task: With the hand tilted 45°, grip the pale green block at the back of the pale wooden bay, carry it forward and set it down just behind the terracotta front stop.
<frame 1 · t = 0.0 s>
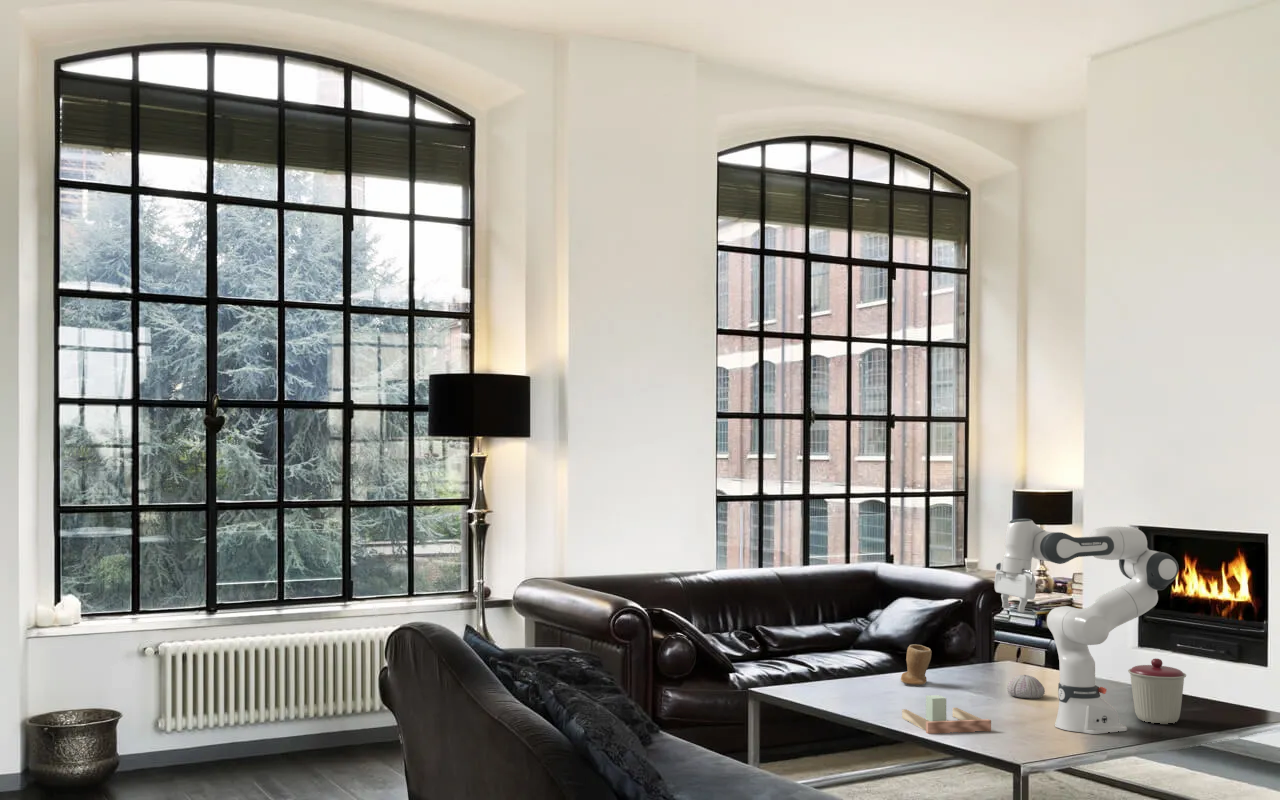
hand: (1013, 610, 384), 39 cm above the table, tool pointing down, fingers open, 8 cm apart
pale green block: (936, 720, 395), on the table
bay: (949, 727, 385), on the table
tan boot: (916, 684, 461), on the table
sea urchin shell: (1025, 697, 438), on the table
canister: (1157, 721, 398), on the table
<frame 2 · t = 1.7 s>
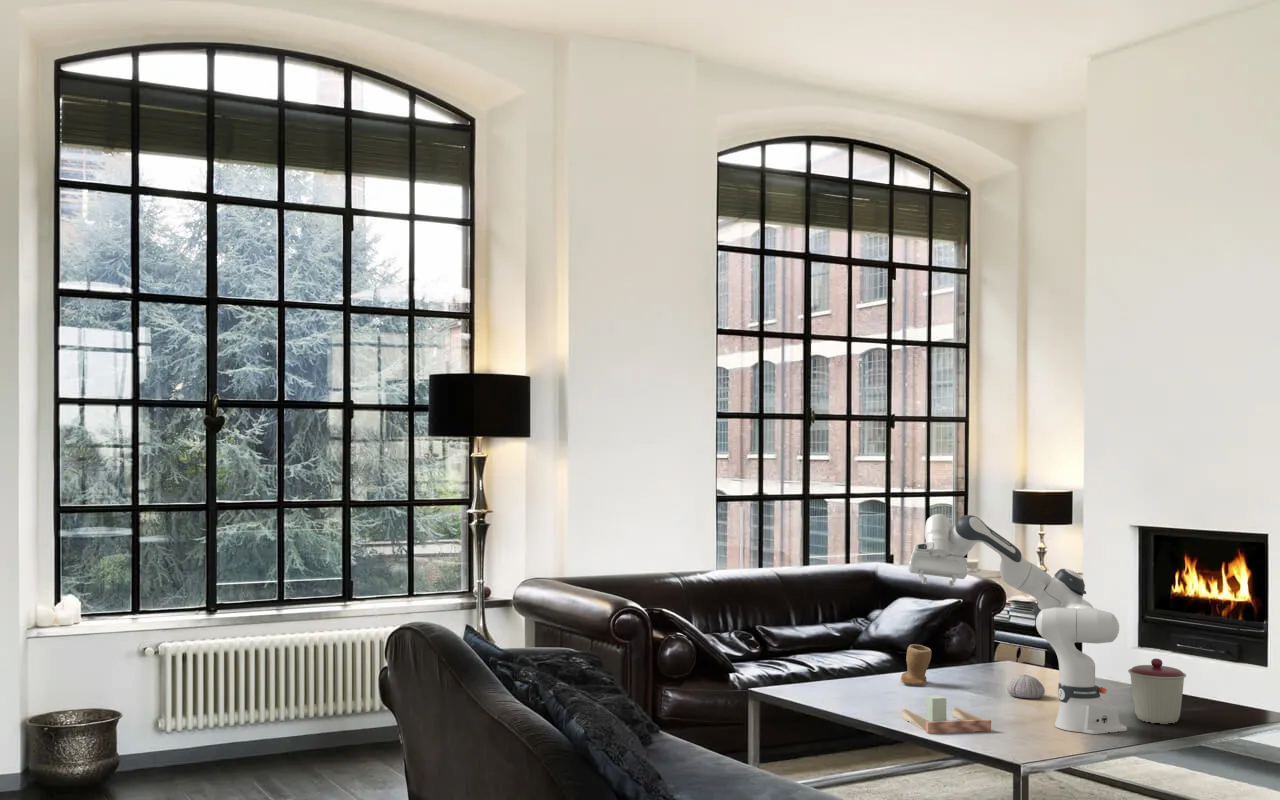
hand: (937, 584, 415), 44 cm above the table, tool tilted 40°, fingers open, 8 cm apart
nothing on the table moved.
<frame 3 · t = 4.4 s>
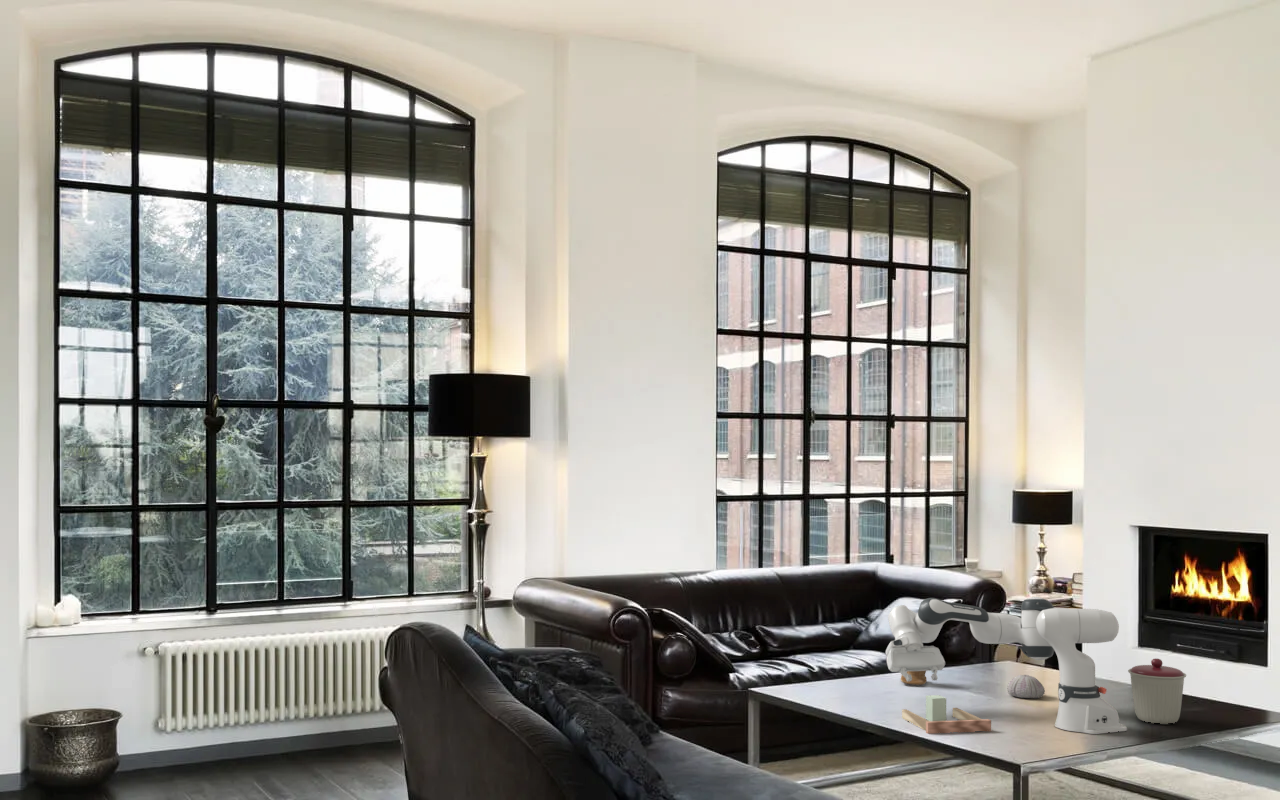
hand: (922, 680, 405), 12 cm above the table, tool tilted 45°, fingers open, 8 cm apart
nothing on the table moved.
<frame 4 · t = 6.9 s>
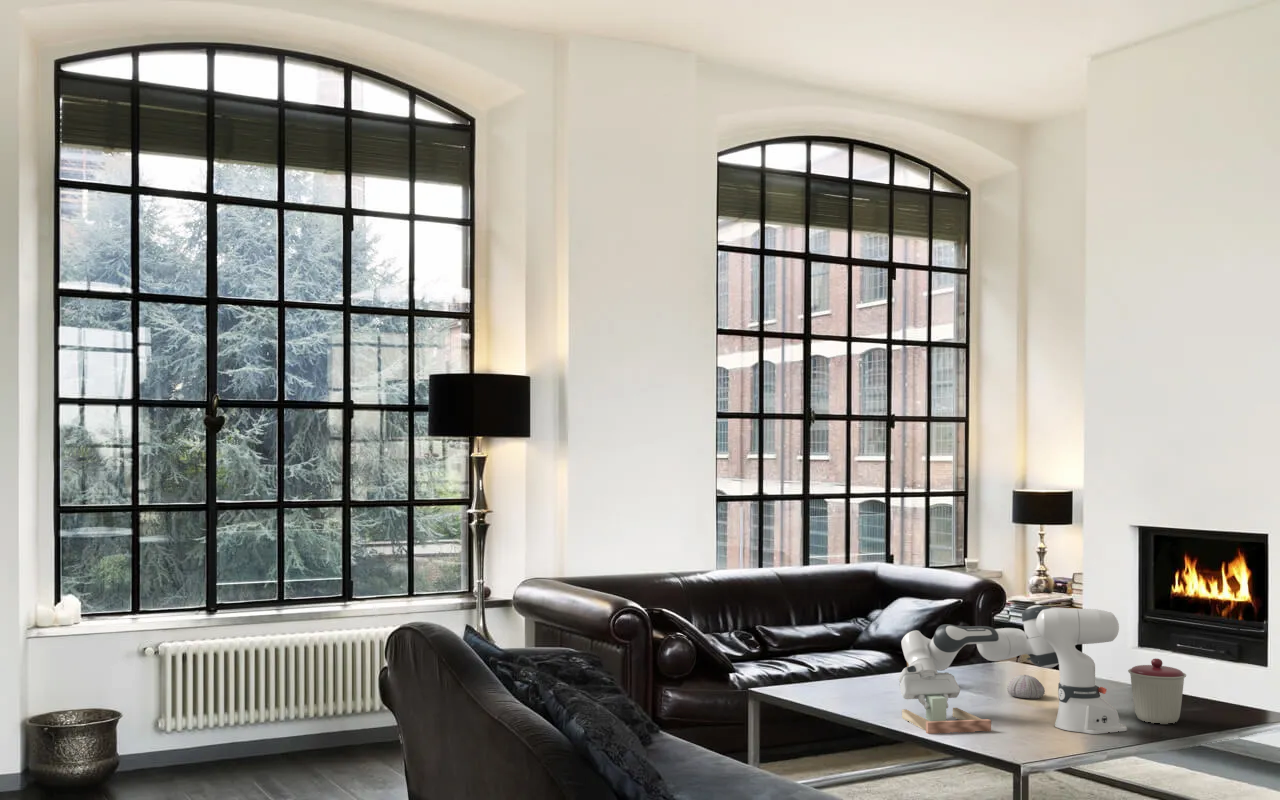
hand: (937, 707, 394), 4 cm above the table, tool tilted 45°, fingers closed on pale green block, 5 cm apart
pale green block: (936, 720, 395), on the table, touching gripper
everything else where it was.
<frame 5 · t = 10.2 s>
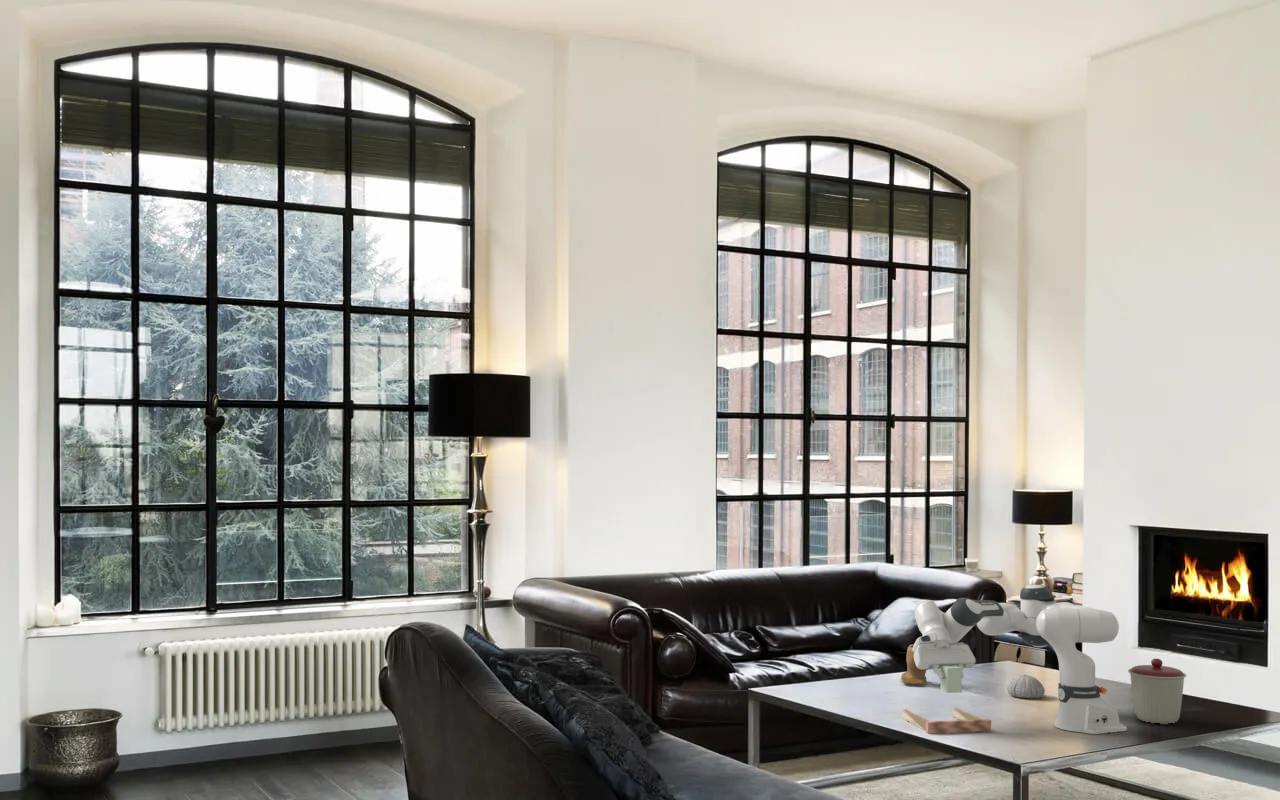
hand: (951, 678, 384), 16 cm above the table, tool tilted 45°, fingers closed on pale green block, 5 cm apart
pale green block: (951, 691, 385), point 12 cm above the table, touching gripper
everything else where it was.
when the fingers open (6 cm above the table, at t = 13.3 s): pale green block drops 1 cm, on the table.
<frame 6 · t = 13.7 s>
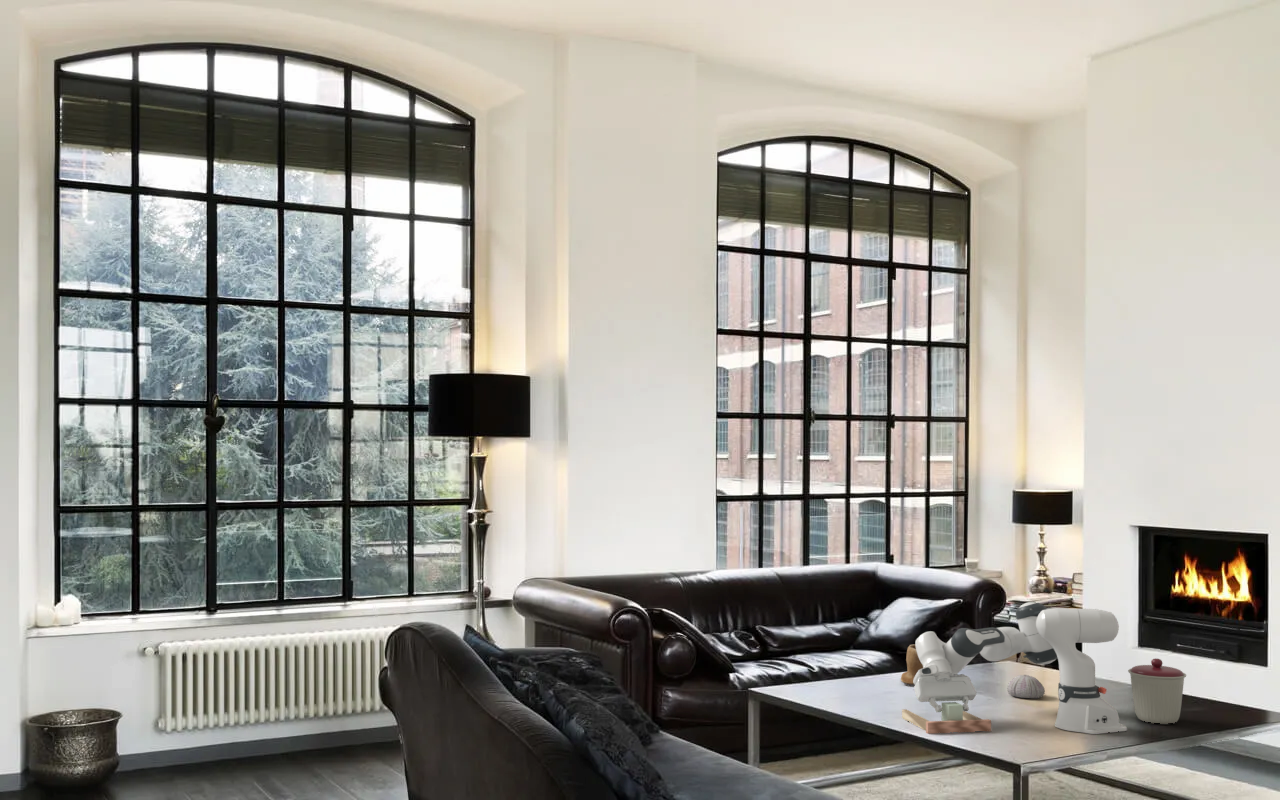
hand: (952, 710, 383), 6 cm above the table, tool tilted 45°, fingers open, 8 cm apart
pale green block: (952, 728, 384), on the table
everything else where it was.
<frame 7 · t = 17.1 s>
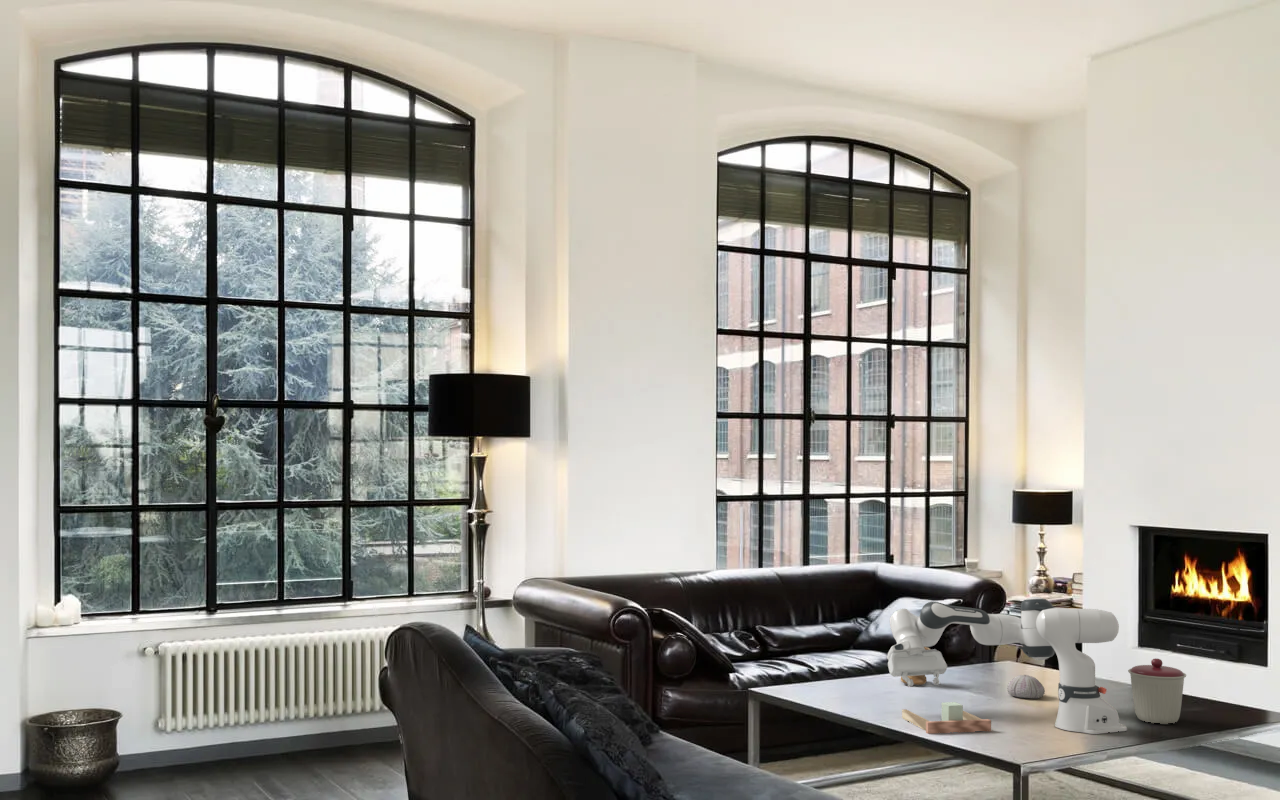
hand: (924, 684, 403), 11 cm above the table, tool tilted 45°, fingers open, 8 cm apart
nothing on the table moved.
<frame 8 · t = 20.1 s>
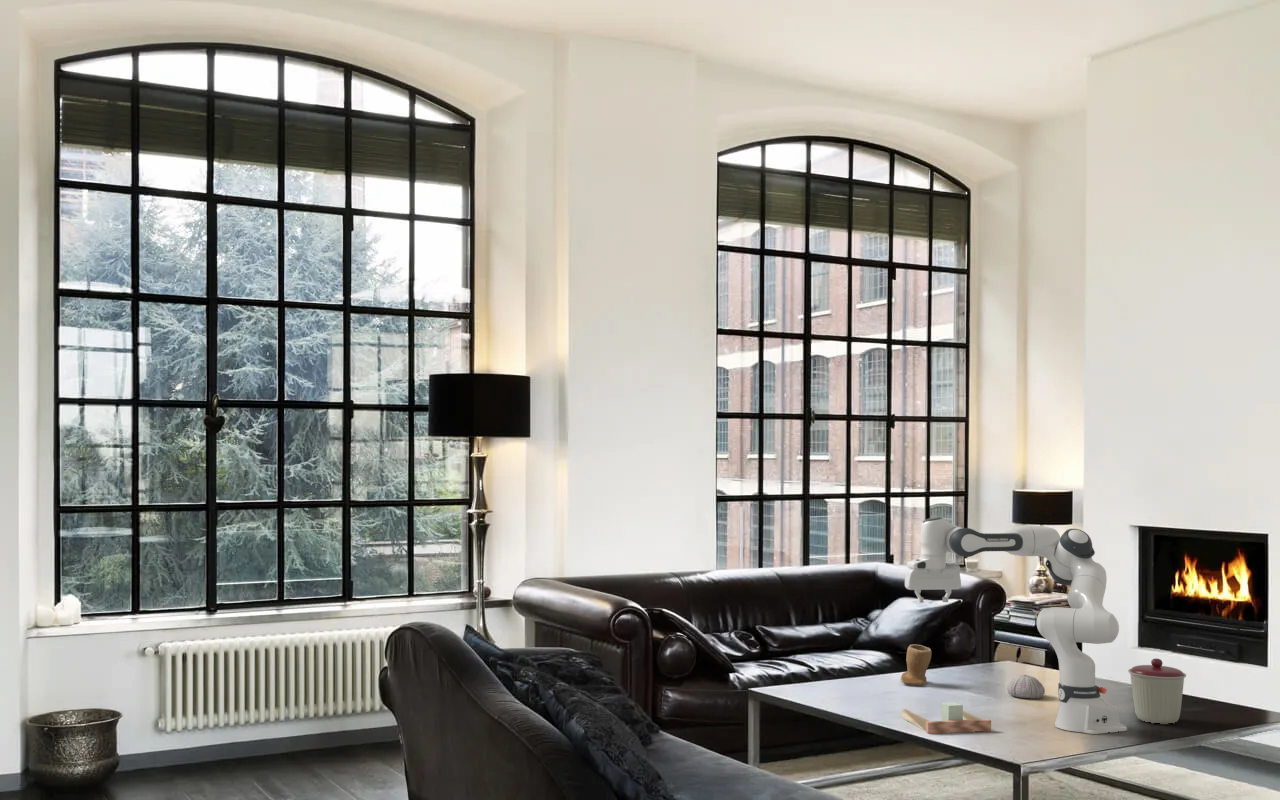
hand: (933, 602, 417), 37 cm above the table, tool pointing down, fingers open, 8 cm apart
nothing on the table moved.
at the end: pale green block inside the target area (0.2 cm from its centre), on the table; pale green block tilted 0°; the gripper is holding nothing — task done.
